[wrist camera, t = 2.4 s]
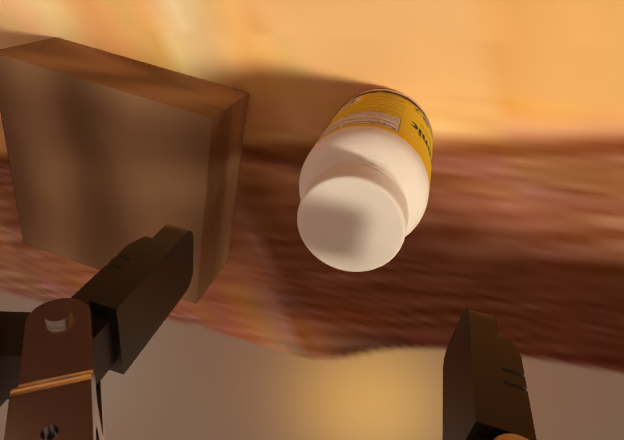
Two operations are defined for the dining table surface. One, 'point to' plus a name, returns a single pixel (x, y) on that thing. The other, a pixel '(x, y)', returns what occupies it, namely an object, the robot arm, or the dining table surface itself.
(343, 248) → the supplement bottle
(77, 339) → the robot arm
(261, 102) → the dining table surface
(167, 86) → the walnut plinth block
